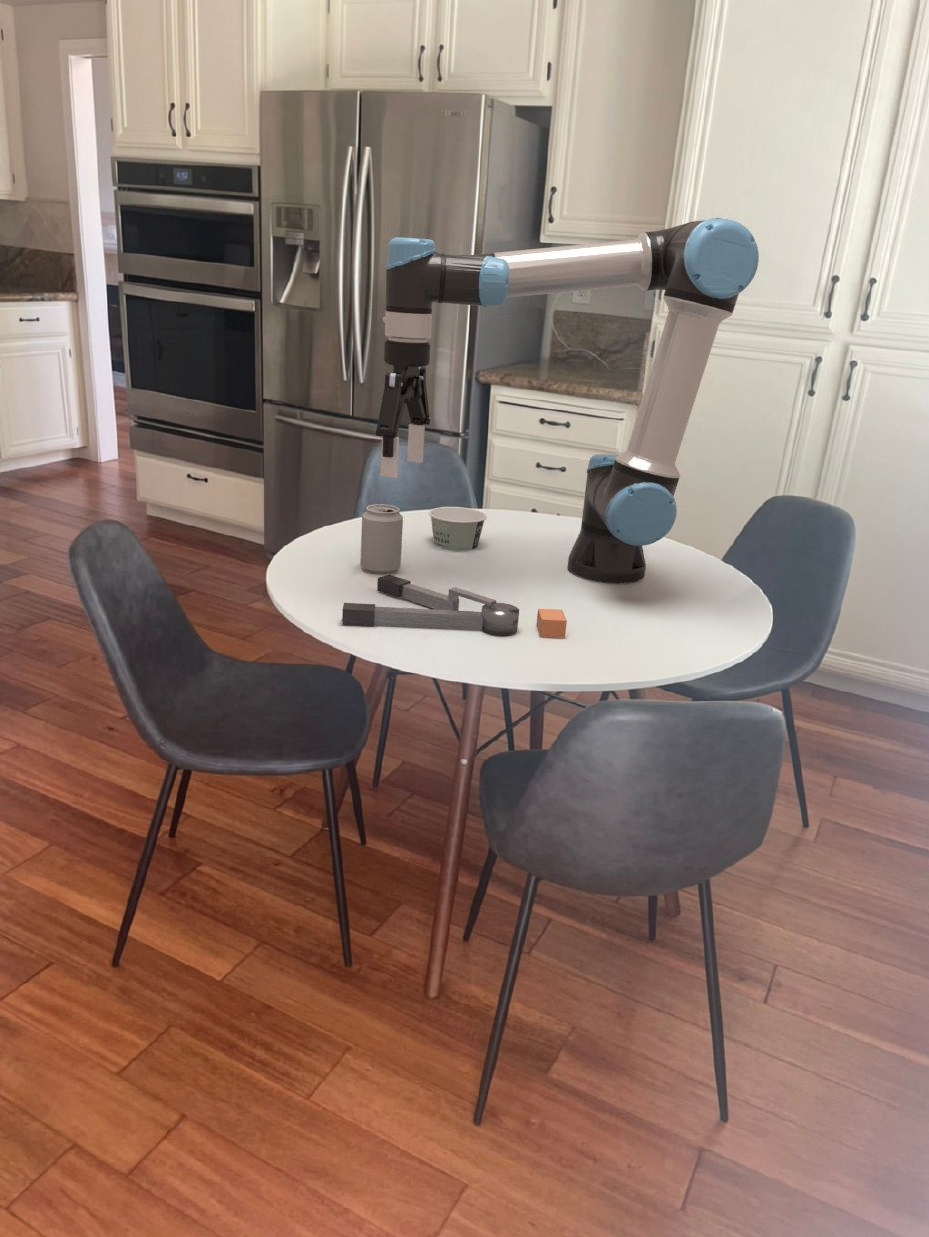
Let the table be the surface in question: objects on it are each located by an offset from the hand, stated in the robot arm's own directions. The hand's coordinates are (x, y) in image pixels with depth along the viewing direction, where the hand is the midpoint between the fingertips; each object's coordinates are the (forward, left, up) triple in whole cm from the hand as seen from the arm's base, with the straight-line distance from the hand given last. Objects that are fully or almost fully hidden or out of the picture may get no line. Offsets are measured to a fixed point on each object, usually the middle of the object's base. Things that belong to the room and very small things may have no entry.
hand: (402, 469), depth 161 cm
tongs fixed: (-6, +19, -21) cm, 29 cm away
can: (+3, -9, -21) cm, 23 cm away
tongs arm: (-7, +10, -21) cm, 24 cm away
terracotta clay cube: (-25, +19, -21) cm, 38 cm away
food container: (-12, -29, -21) cm, 38 cm away
